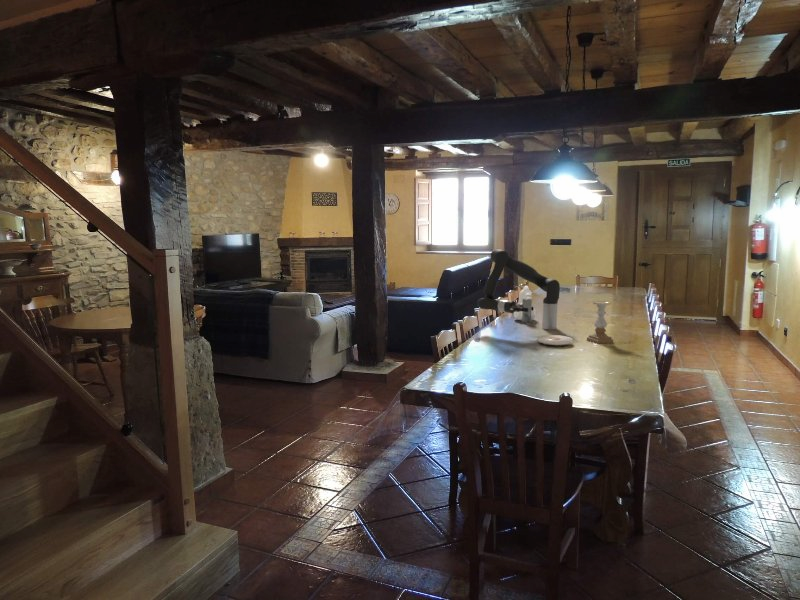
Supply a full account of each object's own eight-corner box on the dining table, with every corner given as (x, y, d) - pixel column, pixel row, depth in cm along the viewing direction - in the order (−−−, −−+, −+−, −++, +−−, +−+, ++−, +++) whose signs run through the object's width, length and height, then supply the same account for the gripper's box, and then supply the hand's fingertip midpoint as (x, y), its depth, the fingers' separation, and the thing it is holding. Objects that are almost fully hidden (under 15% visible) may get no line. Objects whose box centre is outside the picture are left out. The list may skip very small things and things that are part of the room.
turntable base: (544, 340, 339) (544, 337, 339) (568, 342, 333) (568, 339, 333) (540, 345, 326) (540, 342, 326) (565, 347, 321) (565, 344, 320)
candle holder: (586, 340, 338) (588, 301, 335) (601, 339, 341) (603, 300, 338) (598, 344, 328) (599, 303, 324) (613, 342, 331) (615, 302, 328)
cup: (522, 320, 344) (523, 298, 342) (532, 321, 342) (532, 298, 340) (521, 322, 340) (521, 299, 337) (530, 323, 337) (530, 300, 335)
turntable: (540, 336, 343) (540, 333, 342) (574, 339, 335) (574, 336, 334) (534, 343, 325) (534, 340, 324) (570, 346, 317) (570, 343, 316)
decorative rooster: (514, 317, 415) (515, 284, 411) (536, 318, 411) (537, 284, 407) (511, 323, 391) (512, 288, 388) (534, 324, 387) (536, 289, 383)
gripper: (500, 301, 344) (524, 304, 332) (513, 299, 354) (537, 301, 342) (500, 313, 345) (524, 317, 333) (513, 310, 355) (536, 313, 344)
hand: (530, 309), depth 338 cm, fingers closed on cup, 5 cm apart
